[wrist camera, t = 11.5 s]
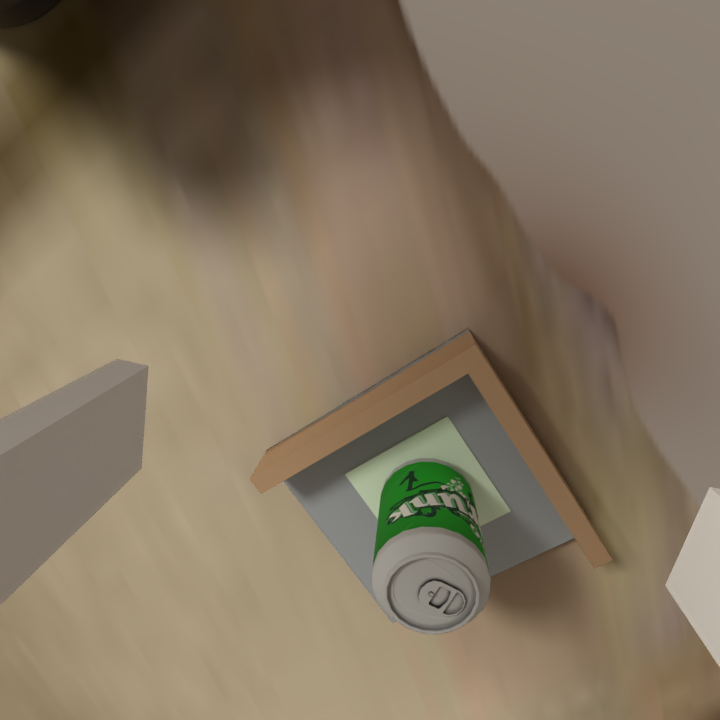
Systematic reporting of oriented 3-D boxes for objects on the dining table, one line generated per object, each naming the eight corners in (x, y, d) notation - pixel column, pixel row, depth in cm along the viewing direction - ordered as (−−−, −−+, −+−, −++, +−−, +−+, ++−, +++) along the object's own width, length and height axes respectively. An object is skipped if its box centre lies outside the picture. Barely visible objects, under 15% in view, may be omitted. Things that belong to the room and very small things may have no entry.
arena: (266, 450, 45) (249, 479, 40) (468, 328, 40) (475, 344, 35) (392, 614, 48) (390, 659, 44) (590, 521, 44) (612, 560, 39)
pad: (345, 473, 43) (344, 474, 43) (447, 415, 41) (447, 416, 41) (409, 560, 45) (409, 561, 45) (510, 509, 43) (511, 511, 43)
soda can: (444, 545, 44) (455, 663, 33) (366, 507, 44) (349, 612, 32) (489, 477, 42) (517, 578, 30) (407, 436, 42) (405, 522, 30)
